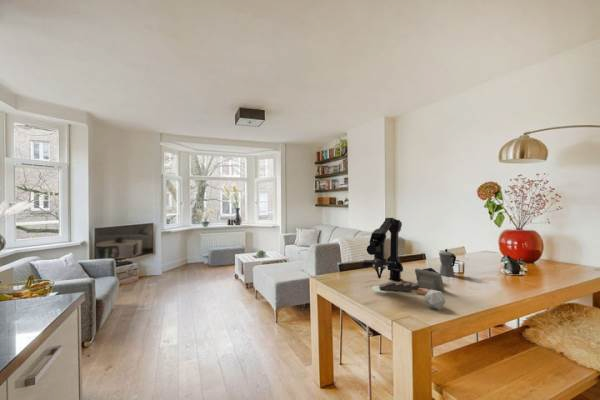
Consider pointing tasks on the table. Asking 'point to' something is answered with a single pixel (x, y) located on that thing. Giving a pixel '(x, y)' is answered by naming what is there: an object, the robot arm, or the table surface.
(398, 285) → the domino
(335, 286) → the table surface
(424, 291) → the domino
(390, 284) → the domino
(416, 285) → the domino
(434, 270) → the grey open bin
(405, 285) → the domino
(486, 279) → the table surface
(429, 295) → the grey rock
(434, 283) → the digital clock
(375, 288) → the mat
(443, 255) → the coffeepot
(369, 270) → the table surface
